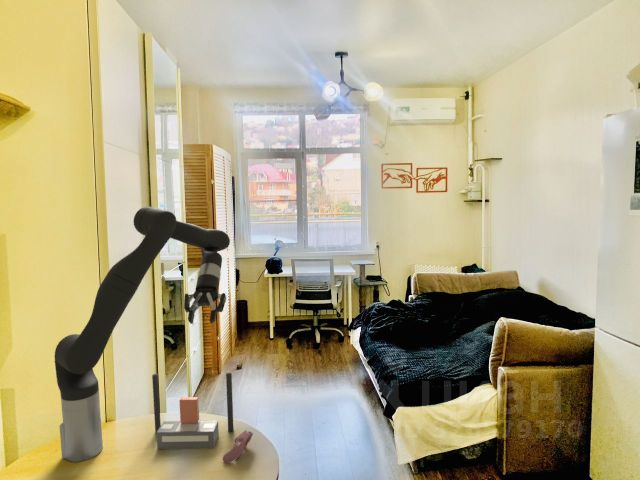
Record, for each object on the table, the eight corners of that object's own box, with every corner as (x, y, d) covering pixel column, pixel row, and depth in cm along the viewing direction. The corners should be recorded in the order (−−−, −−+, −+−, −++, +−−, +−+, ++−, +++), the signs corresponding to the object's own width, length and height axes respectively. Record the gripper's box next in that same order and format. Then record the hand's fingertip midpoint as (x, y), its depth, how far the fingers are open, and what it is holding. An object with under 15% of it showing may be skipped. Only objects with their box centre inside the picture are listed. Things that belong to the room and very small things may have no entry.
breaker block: (157, 449, 123) (156, 432, 123) (164, 437, 130) (163, 421, 129) (213, 448, 124) (213, 431, 123) (218, 436, 130) (218, 420, 129)
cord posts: (154, 433, 132) (151, 376, 130) (156, 430, 133) (153, 373, 131) (232, 432, 132) (230, 374, 130) (233, 429, 133) (232, 372, 132)
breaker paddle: (180, 422, 127) (179, 399, 126) (182, 420, 129) (181, 397, 128) (197, 422, 127) (196, 399, 127) (199, 419, 129) (198, 397, 128)
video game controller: (234, 470, 116) (245, 449, 115) (220, 461, 117) (230, 440, 115) (248, 449, 126) (258, 429, 124) (234, 441, 126) (244, 421, 125)
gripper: (185, 273, 149) (175, 317, 139) (227, 272, 149) (221, 316, 139) (190, 285, 155) (181, 328, 144) (231, 284, 155) (225, 327, 144)
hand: (201, 322), depth 142 cm, fingers open, 6 cm apart
